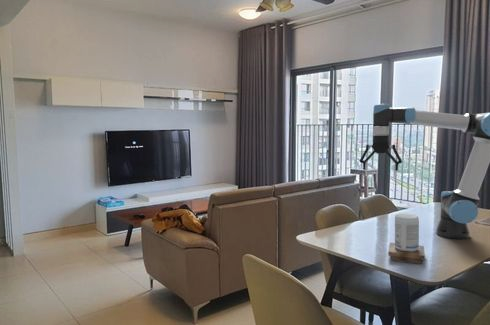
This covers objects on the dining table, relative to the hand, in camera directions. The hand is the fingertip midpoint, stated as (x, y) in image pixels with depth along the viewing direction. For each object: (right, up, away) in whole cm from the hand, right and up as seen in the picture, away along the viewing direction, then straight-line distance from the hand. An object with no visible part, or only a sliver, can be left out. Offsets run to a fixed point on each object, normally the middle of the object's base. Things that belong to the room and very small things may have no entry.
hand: (380, 176), depth 188 cm
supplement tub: (+1, -31, -28) cm, 41 cm away
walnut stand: (+1, -34, -27) cm, 44 cm away
